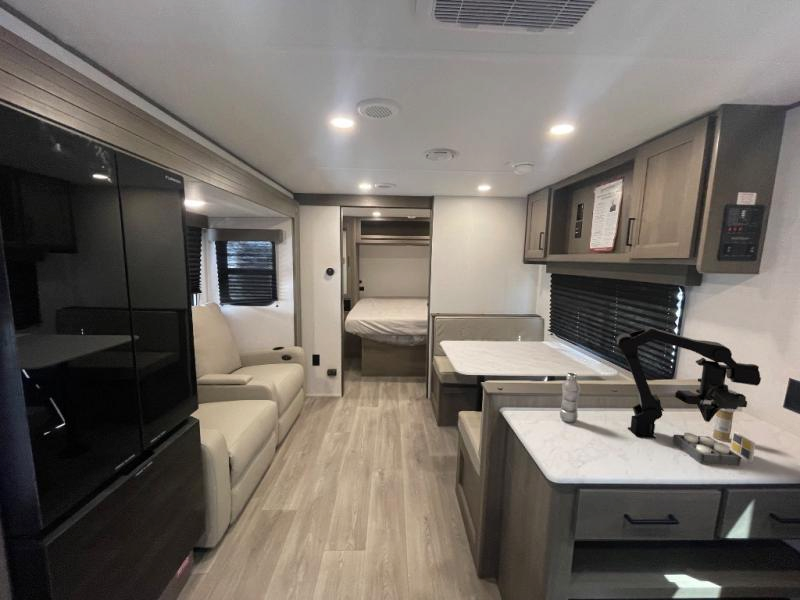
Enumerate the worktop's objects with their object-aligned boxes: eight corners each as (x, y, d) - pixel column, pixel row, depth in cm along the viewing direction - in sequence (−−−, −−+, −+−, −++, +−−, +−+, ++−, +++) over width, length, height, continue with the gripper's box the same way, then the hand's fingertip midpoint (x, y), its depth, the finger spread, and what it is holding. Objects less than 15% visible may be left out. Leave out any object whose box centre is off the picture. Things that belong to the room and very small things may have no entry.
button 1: (688, 444, 108) (689, 437, 108) (680, 438, 111) (681, 432, 111) (700, 445, 108) (701, 438, 107) (691, 439, 111) (692, 432, 111)
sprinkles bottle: (730, 439, 116) (736, 405, 114) (727, 443, 113) (733, 408, 111) (713, 433, 119) (718, 400, 118) (710, 437, 117) (715, 403, 115)
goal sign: (749, 462, 102) (753, 443, 101) (729, 449, 109) (732, 431, 108) (752, 462, 102) (755, 443, 101) (731, 449, 109) (734, 431, 108)
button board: (700, 463, 102) (701, 454, 101) (672, 442, 113) (673, 434, 113) (739, 466, 100) (741, 457, 100) (707, 444, 112) (708, 436, 112)
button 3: (705, 448, 108) (706, 442, 107) (696, 442, 111) (697, 436, 111) (716, 449, 107) (717, 442, 107) (707, 443, 111) (708, 437, 110)
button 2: (701, 457, 103) (702, 450, 102) (692, 450, 106) (693, 444, 106) (713, 458, 102) (714, 451, 102) (704, 451, 106) (705, 445, 106)
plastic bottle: (555, 417, 130) (559, 372, 128) (568, 415, 132) (572, 370, 130) (568, 425, 124) (572, 378, 122) (581, 423, 126) (585, 376, 124)
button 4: (720, 455, 102) (721, 448, 102) (710, 448, 106) (711, 442, 105) (732, 455, 102) (733, 449, 101) (721, 449, 105) (722, 442, 105)
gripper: (703, 387, 100) (696, 432, 102) (767, 390, 98) (759, 436, 100) (676, 374, 111) (671, 415, 113) (734, 377, 109) (727, 418, 111)
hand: (706, 421), depth 109 cm, fingers closed
